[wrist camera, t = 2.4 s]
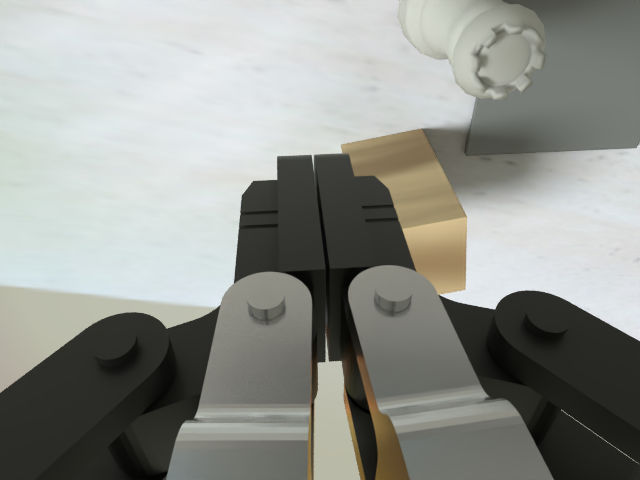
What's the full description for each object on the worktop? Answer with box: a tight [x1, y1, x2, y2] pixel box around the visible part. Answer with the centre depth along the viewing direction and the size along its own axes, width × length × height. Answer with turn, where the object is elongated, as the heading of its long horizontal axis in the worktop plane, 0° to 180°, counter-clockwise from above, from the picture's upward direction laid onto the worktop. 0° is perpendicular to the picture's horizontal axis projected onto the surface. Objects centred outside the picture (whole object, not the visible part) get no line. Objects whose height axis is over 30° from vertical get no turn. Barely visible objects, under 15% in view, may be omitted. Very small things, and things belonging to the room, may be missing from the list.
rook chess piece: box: [398, 0, 547, 100], centre depth 19 cm, size 4×4×8 cm
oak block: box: [341, 129, 467, 295], centre depth 25 cm, size 4×4×8 cm
